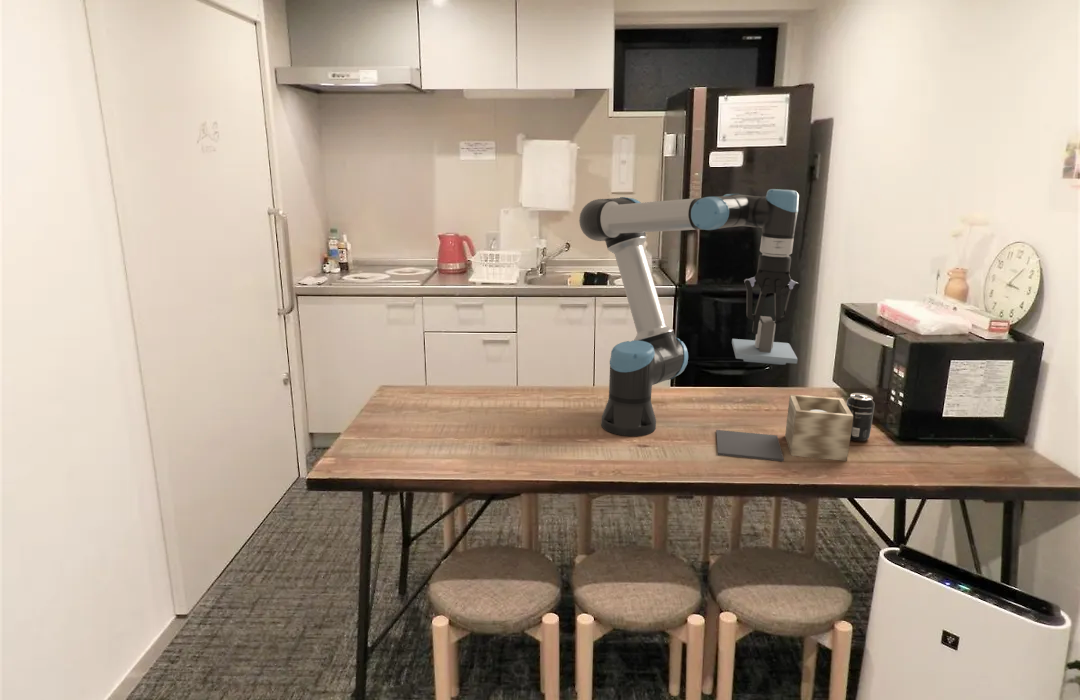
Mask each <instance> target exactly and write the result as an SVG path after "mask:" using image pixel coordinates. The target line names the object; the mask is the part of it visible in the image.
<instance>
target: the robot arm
mask: <svg viewBox="0 0 1080 700" xmlns="http://www.w3.org/2000/svg"><path fill="white" fill-rule="evenodd" d="M799 199H800V194H799V193H798V192H797V190H794V189H782V188H781V189H780V188H779V189H778V188H777V189H776V188H770V189H768V190H767V192H766V195H765V196H756V195H748V194H740V193H726V194H724V195H721V196H713V195H712V196H704V197H699V198H696V197H695V198H685V199H684V198H683V199H672V200H670V199H668V200H660V201H659V200H658V201H646V202H645V201H644V202H641V201H639V200H637V199H635V198H633V197H632V198H631V197H625V196H621V197H615V198H614V197H611V198H597V199H594V200H591V201H589V202H588V203H586V204H585V205H584V206H583V208H582V210H581V211H580V213H579V220H578V222H579V227H580V229H581V231H582V234H584V235H585V236H586V237H587V238H588V239H590V240H592V241H596V242H605V245H606V247H607V251H608V252H611V253H613V255H614V257H615V261H616V264H617V267H618V271H619V274H620V278H621V281H622V284H623V285H622V286H623V288H624V292H625V295H626V299H627V302H628V305H629V310H630V313H631V317H632V319H633V323H634V326H635V330H636V336H635V337H634V340H631V341H629V340H625V341H623V342H620V343H617V344H616V345H615V346H613V347H612V349H611V353H610V359H609V383H608V399H607V402H606V404H605V407H604V410H603V412H602V415H601V423H600V424H601V427H602V429H603V430H605V431H606V432H609V433H611V434H615V435H619V436H625V437H640V436H647V435H650V434H652V433H653V432H654V431H655V430H656V429H657V427H656V426H657V419H656V415H655V411H654V407H653V403H652V393H653V392H652V391H653V386H655V385H657V384H660V383H662V382H665V381H670V380H673V379H674V378H676V377H677V376H679V375H681V374H682V373H683V372H684V371H685V369H686V368H687V365H688V363H689V361H688V360H689V352H688V348H687V346H686V344H685V343H684V341H682V340H681V339H680V338H678V337H677V336H676V334H675V331H674V329H673V328H671V327H670V326H668V325H667V322H666V320H665V316H664V312H663V309H662V305H661V302H660V298H659V294H658V292H657V289H656V284H655V282H654V281H655V280H654V278H653V274H652V271H651V267H650V263H649V261H648V256H647V253H646V249H645V247H644V244H645V243H646V241H647V239H648V238H647V234H646V233H654V232H655V233H656V232H674V231H678V232H679V231H690V230H692V231H693V230H695V231H697V230H699V231H700V230H701V231H702V230H703V231H704V230H705V231H713V230H718V229H724V228H727V229H728V228H734V227H751V228H757V229H758V228H760V229H761V231H762V232H761V239H760V246H759V252H760V254H759V255H758V260H757V261H758V263H757V271H756V272H755V274H754V276H753V277H750V278H745V279H744V280H743V281H744V284H745V287H746V317H747V319H749V320H751V321H752V328H751V330H752V331H751V332H752V333H753V335H755V339H754V340H755V347H756V348H759V343H760V336H761V328H762V322H761V320H760V316H762V312H763V308H764V305H765V301H766V297H767V294H768V293H773V295H774V297H773V298H774V320H773V322H774V330H773V338H772V345H771V349H773V342H775V336H779V335H780V330H781V325H782V323H785V322H786V323H787V322H789V321H790V318H791V317H790V316H791V313H792V309H793V305H794V301H795V298H796V293H797V291H799V289H800V287H801V284H800V283H799V282H797V281H795V280H793V279H792V278H791V276H790V269H791V263H792V256H791V254H793V247H794V239H795V231H796V225H797V219H798V213H799V201H800V200H799ZM755 283H757V285H758V287H759V289H760V290H759V294H758V295H759V296H758V298H757V303H756V307H755V311H754V313H753V292H754V291H753V287H754V286H755ZM787 285H788V289H789V291H788V294H787V298H786V300H785V306H784V310H783V312H782V301H781V300H782V299H781V298H782V291H783V289H785V287H787Z"/></svg>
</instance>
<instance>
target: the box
mask: <svg viewBox="0 0 1080 700" xmlns="http://www.w3.org/2000/svg"><path fill="white" fill-rule="evenodd" d="M811 410H823V411H826V412H818V411H811ZM786 417H787V418H786V425H785V434H784V437H785V439H786V440H785V441H786V443H787V446H788V449H789V454H790V456H791V457H803V458H811V459H812V458H814V459H823V460H824V459H825V460H834V461H844V462H845V461H846V462H847V461H848V455H849V449H850V442H851V440H850V437H851V430H852V423H853V415H852V413H851V411H850V409H849V408H848V406H847V402H846V401H845V400H844V398H841V397H839V398H838V397H827V396H818V395H817V396H814V395H805V394H804V395H802V394H791V393H790V394H789V401H788V408H787V416H786Z"/></svg>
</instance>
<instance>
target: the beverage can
mask: <svg viewBox="0 0 1080 700" xmlns="http://www.w3.org/2000/svg"><path fill="white" fill-rule="evenodd" d="M849 396H850V397H848V398H847V400H846V404H847V406H848V408H849V409H850V411H851V413H852V415H853V423H852V430H851V437H850V441H853V442H865V441H867V440H868V439H870V437H871V431H872V424H873V418H874V411H875V402H874V401H873V399H874V397H873V396H872V395H870V394H867V393H863V392H862V393H861V392H853V393H850V395H849Z"/></svg>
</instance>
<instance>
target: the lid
mask: <svg viewBox="0 0 1080 700" xmlns="http://www.w3.org/2000/svg"><path fill="white" fill-rule="evenodd" d="M760 320H761V322H762V328H761V336H760V343H759V348H756V347H755V339H753V340H752V339H740V338H739V339H738V338H732V339H731V344H732V349H733V352H734V356H735V359H737V360H743V362H748V363H760V364H770V365H783V366H784V365H786V364H796V365H797V364H798V361H799V360H798V357H797V355H796V353H795V351H794V350H793V348H792V346H791V344H790V343H788V342H780V341H774V342H773V349H771V345H772V338H773V330H774V322H773V321H774V320H773V318H772V316H765V315H764V316H763V315H761V316H760Z"/></svg>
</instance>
